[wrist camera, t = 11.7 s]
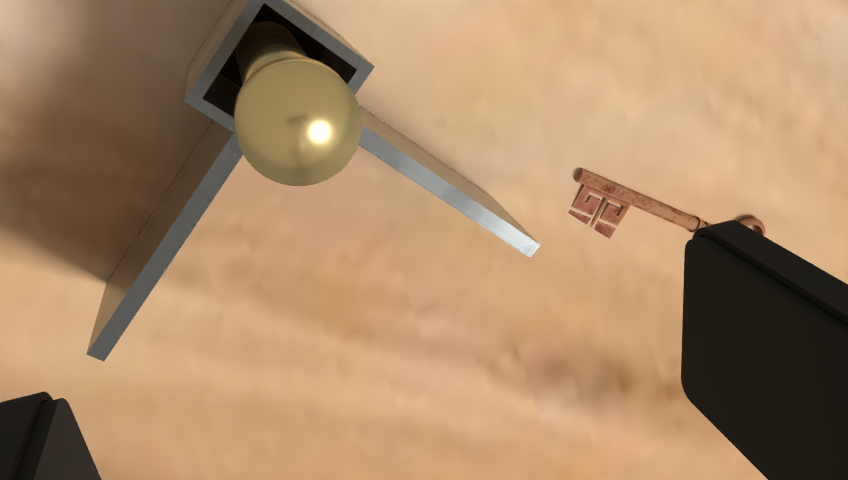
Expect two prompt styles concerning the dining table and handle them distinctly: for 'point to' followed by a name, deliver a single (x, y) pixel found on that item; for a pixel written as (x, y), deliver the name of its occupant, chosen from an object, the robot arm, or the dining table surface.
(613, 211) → the key
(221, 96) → the bracket
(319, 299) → the dining table surface
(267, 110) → the hinge pin
